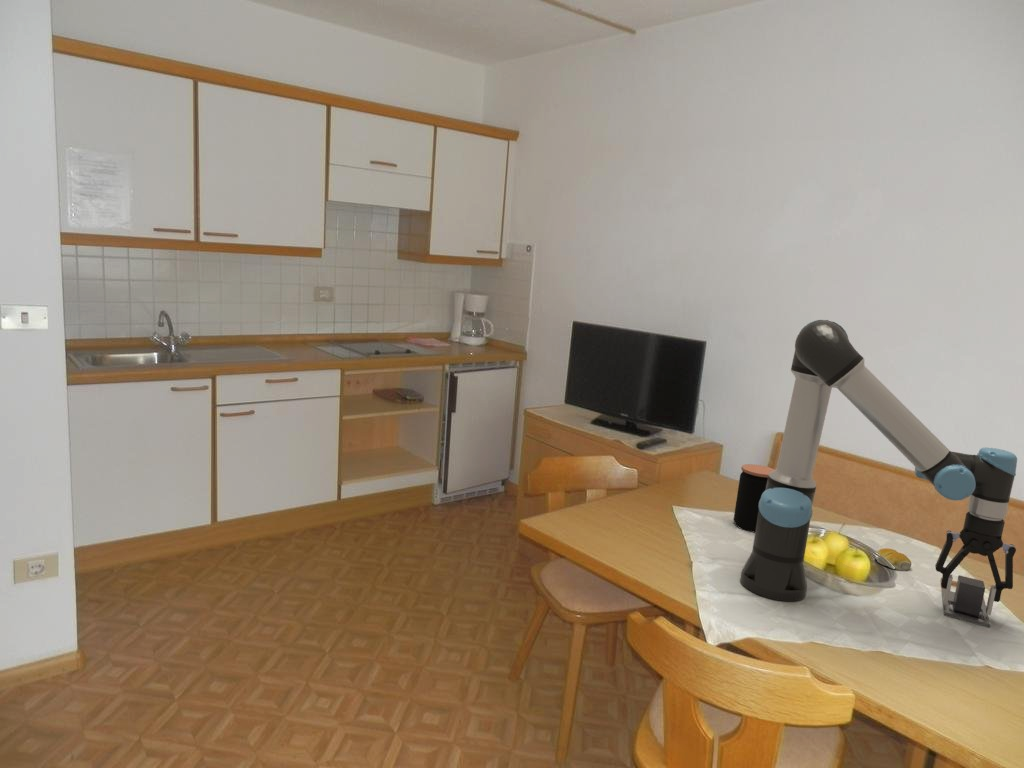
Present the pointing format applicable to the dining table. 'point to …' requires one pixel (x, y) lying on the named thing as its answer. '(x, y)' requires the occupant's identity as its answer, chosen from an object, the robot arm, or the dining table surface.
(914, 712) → the dining table surface
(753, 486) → the coffee jar
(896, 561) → the bread roll
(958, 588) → the block
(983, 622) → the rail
